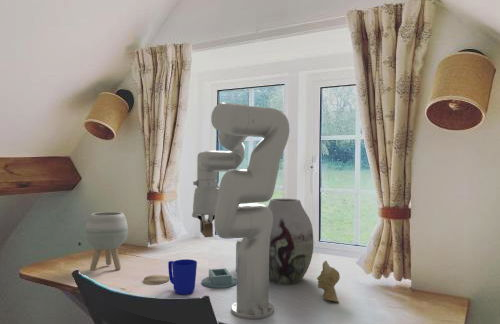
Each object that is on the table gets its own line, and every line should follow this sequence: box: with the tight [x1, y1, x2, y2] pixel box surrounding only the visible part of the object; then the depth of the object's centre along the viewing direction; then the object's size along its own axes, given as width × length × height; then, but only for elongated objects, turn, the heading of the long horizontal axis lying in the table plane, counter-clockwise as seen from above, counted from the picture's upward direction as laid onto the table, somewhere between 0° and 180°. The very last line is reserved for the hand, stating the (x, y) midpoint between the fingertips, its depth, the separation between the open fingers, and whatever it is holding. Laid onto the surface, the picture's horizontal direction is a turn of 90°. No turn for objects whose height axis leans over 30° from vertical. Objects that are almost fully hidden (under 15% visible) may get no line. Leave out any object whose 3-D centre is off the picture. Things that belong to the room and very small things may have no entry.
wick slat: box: [199, 218, 214, 238], centre depth 144 cm, size 5×3×10 cm
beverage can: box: [235, 238, 243, 269], centre depth 154 cm, size 6×6×12 cm
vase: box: [267, 198, 314, 285], centre depth 141 cm, size 21×21×30 cm
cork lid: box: [143, 274, 170, 285], centre depth 138 cm, size 9×9×1 cm
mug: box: [167, 258, 198, 295], centre depth 127 cm, size 8×12×10 cm
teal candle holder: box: [201, 267, 237, 289], centre depth 137 cm, size 13×13×4 cm
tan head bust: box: [316, 260, 341, 303], centre depth 120 cm, size 8×7×12 cm
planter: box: [85, 211, 129, 272], centre depth 153 cm, size 16×16×22 cm
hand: (206, 232), depth 143 cm, fingers closed on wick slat
